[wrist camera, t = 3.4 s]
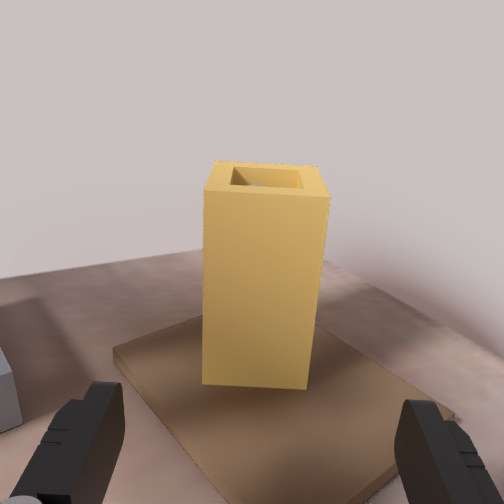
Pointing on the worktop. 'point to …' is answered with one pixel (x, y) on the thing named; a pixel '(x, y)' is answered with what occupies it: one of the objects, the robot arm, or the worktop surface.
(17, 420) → the tray
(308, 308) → the yellow open box
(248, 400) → the board
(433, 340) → the worktop surface
